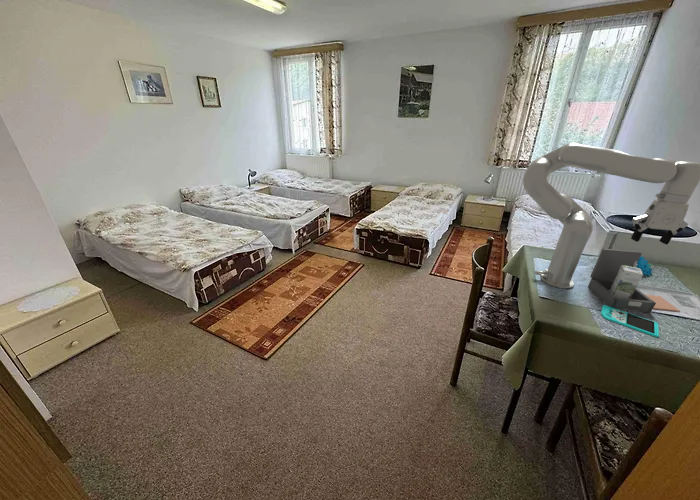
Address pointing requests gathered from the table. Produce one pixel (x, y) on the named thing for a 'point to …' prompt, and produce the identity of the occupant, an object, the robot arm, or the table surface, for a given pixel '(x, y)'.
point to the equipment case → (606, 274)
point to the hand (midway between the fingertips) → (648, 241)
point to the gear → (644, 266)
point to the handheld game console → (630, 320)
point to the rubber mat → (662, 303)
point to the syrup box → (626, 282)
